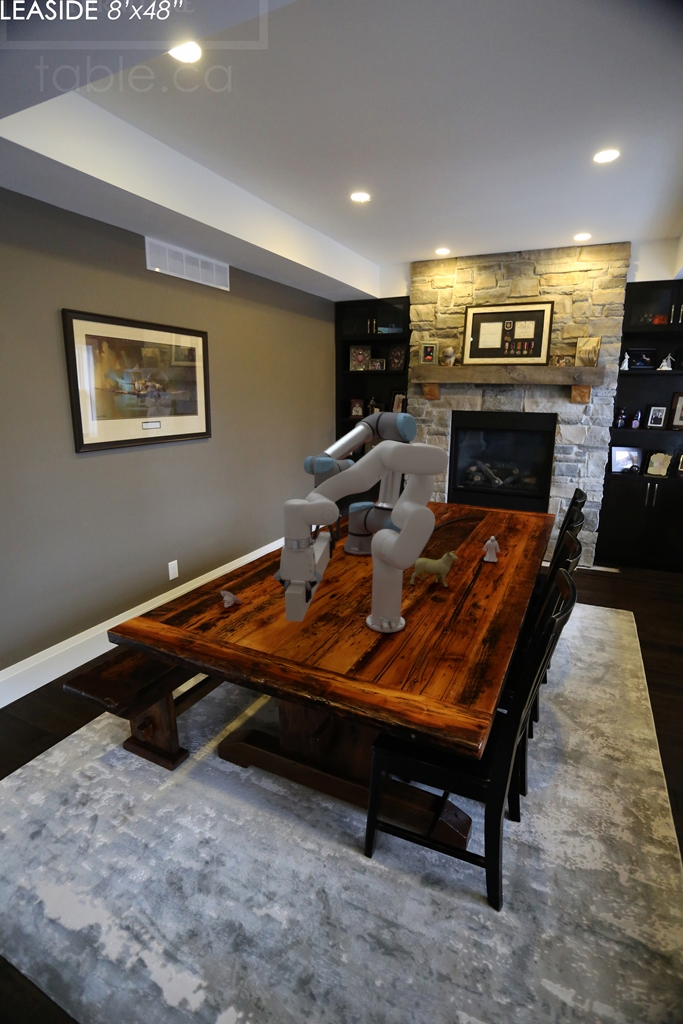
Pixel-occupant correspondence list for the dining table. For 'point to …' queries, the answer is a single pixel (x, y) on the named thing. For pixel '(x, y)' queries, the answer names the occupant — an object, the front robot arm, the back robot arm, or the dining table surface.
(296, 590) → the beam
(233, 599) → the seashell
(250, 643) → the dining table surface
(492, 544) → the figurine
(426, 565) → the toy
